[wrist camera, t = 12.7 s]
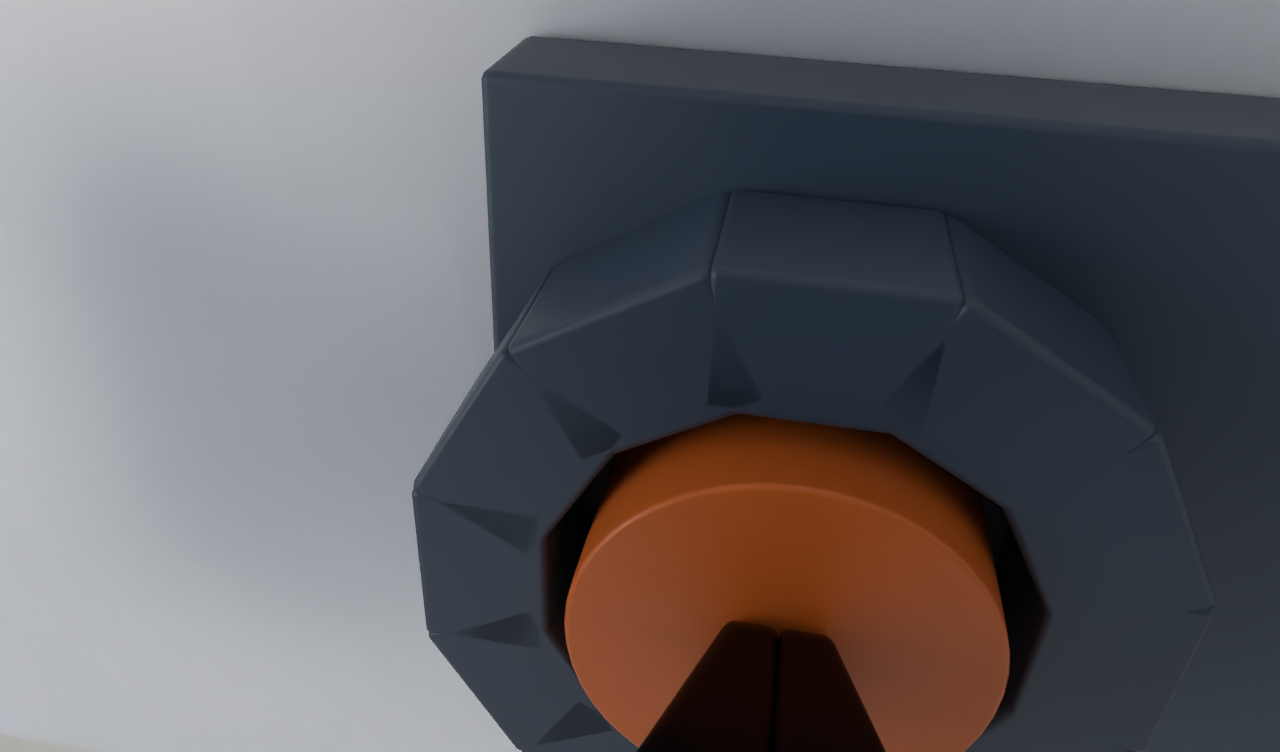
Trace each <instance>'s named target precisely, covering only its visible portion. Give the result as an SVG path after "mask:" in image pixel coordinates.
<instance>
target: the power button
mask: <svg viewBox="0 0 1280 752" xmlns="http://www.w3.org/2000/svg"><path fill="white" fill-rule="evenodd" d="M732 620H735V621H742V622H748V623H754V624H760V625H767V626H771V627H773V628H774V629H775V630H776V632H777V635H778V636H779V634H780V633H781V631H783V630H785V629H792V630H798V631H804V632H810V633H816V634H823V635H826V636H828V637H829V638H830V639H832V641H833V642H834V644H835V646H836V648H837V650H838V652H839V654H840V656H841V658H842V660H843V662H844V664H845V666H846V668H847V671H848V673H849V675H850V677H851V679H852V681H853V683H854V685H855V687H856V690H857V692H858V694H859V696H860V698H861V700H862V702H863V704H864V706H865V708H866V711H867V713H868V715H869V717H870V719H871V721H872V723H873V725H874V727H875V729H876V732H877V734H878V736H879V738H880V740H881V742H882V744H883V746H884V748H885V750H886V752H965V751H966V750H967V749H968V748H969V747H970V746H971V745H972V744H973V743H974V742H975V741H976V740H977V739H978V738H979V737H980V736H981V735H982V733H983V732H984V730H985V729H986V727H987V726H988V725H989V723H990V722H991V720H992V719H993V717H994V715H995V713H996V711H997V709H998V707H999V705H1000V703H1001V700H1002V698H1003V696H1004V693H1005V689H1006V685H1007V681H1008V677H1009V667H1010V648H1009V641H1008V634H1007V628H1006V623H1005V617H1004V612H1003V607H1002V602H1001V596H1000V591H999V586H998V581H997V575H996V570H995V565H994V560H993V554H992V549H991V544H990V539H989V534H988V528H987V523H986V518H985V513H984V507H983V502H982V497H981V494H980V492H978V491H977V490H975V489H974V488H972V487H971V486H969V485H968V484H966V483H965V482H963V481H962V480H960V479H959V478H957V477H956V476H954V475H953V474H951V473H949V472H948V471H946V470H945V469H943V468H942V467H940V466H939V465H937V464H936V463H934V462H933V461H931V460H930V459H928V458H927V457H925V456H924V455H922V454H921V453H919V452H918V451H916V450H915V449H913V448H912V447H910V446H909V445H907V444H906V443H904V442H903V441H901V440H900V439H898V438H897V437H895V436H894V435H892V434H889V433H881V432H873V431H866V430H858V429H851V428H843V427H836V426H828V425H820V424H813V423H805V422H798V421H790V420H783V419H775V418H767V417H760V416H752V415H745V414H734V415H731V416H728V417H725V418H722V419H719V420H716V421H713V422H710V423H707V424H704V425H701V426H698V427H695V428H692V429H689V430H686V431H683V432H680V433H677V434H674V435H671V436H667V437H664V438H661V439H658V440H655V441H652V442H649V443H646V444H643V445H640V446H637V447H634V448H631V449H628V450H625V451H622V452H619V453H617V454H616V456H615V459H614V461H613V463H612V465H611V468H610V471H609V474H608V477H607V480H606V483H605V486H604V489H603V492H602V495H601V497H600V500H599V503H598V506H597V509H596V512H595V515H594V518H593V521H592V524H591V527H590V530H589V533H588V536H587V539H586V542H585V545H584V548H583V550H582V553H581V556H580V559H579V562H578V565H577V568H576V571H575V574H574V577H573V580H572V583H571V586H570V590H569V594H568V597H567V601H566V608H565V620H564V625H565V636H566V644H567V648H568V652H569V656H570V659H571V663H572V666H573V668H574V671H575V673H576V675H577V678H578V680H579V682H580V684H581V686H582V687H583V689H584V691H585V692H586V694H587V695H588V697H589V699H590V700H591V702H592V703H593V704H594V705H595V707H596V708H597V709H598V710H599V712H600V713H601V714H602V715H603V716H604V718H605V719H606V720H607V721H608V722H609V723H610V724H611V725H612V726H613V727H614V728H615V729H617V730H618V731H619V732H620V733H621V734H622V735H623V736H624V737H626V738H627V739H628V740H629V741H631V742H632V743H633V744H635V745H636V746H637V747H638V748H639V747H640V745H641V744H642V743H643V741H644V740H645V738H646V737H647V735H648V734H649V732H650V731H651V730H652V728H653V727H654V725H655V724H656V722H657V721H658V719H659V718H660V717H661V715H662V714H663V712H664V711H665V709H666V708H667V707H668V705H669V704H670V702H671V701H672V699H673V698H674V696H675V695H676V694H677V692H678V691H679V689H680V688H681V686H682V685H683V683H684V682H685V681H686V679H687V678H688V676H689V675H690V673H691V672H692V670H693V669H694V668H695V666H696V665H697V663H698V662H699V660H700V659H701V657H702V656H703V655H704V653H705V652H706V650H707V649H708V647H709V646H710V644H711V643H712V642H713V640H714V639H715V637H716V636H717V634H718V633H719V631H720V630H721V629H722V627H723V626H724V625H725V624H726V623H727V622H729V621H732Z"/></svg>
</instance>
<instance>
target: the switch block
mask: <svg viewBox="0 0 1280 752" xmlns="http://www.w3.org/2000/svg"><path fill="white" fill-rule="evenodd" d="M482 98H483V119H484V140H485V161H486V182H487V204H488V225H489V246H490V267H491V288H492V309H493V331H494V352H495V353H494V354H493V356H492V357H491V359H490V360H489V362H488V363H487V365H486V366H485V368H484V369H483V371H482V372H481V374H480V375H479V377H478V379H477V380H476V382H475V383H474V385H473V386H472V388H471V389H470V391H469V392H468V394H467V396H466V397H465V399H464V401H463V402H462V404H461V406H460V407H459V409H458V410H457V412H456V414H455V415H454V417H453V419H452V420H451V422H450V423H449V425H448V427H447V428H446V430H445V432H444V433H443V435H442V436H441V438H440V440H439V441H438V443H437V445H436V446H435V448H434V450H433V451H432V453H431V454H430V456H429V458H428V459H427V461H426V463H425V464H424V466H423V467H422V469H421V471H420V472H419V474H418V476H417V477H416V479H415V481H414V489H413V491H412V497H413V506H414V516H415V525H416V534H417V543H418V552H419V561H420V570H421V579H422V589H423V598H424V607H425V616H426V625H427V629H428V631H429V637H430V639H431V640H432V641H433V642H434V644H435V645H436V646H437V648H438V649H439V650H440V651H441V653H442V654H443V655H444V656H445V658H446V659H447V660H448V661H449V663H450V664H451V665H452V667H453V668H454V669H455V670H456V672H457V673H458V674H459V675H460V677H461V678H462V679H463V681H464V682H465V683H466V684H467V686H468V687H469V688H470V689H471V691H472V692H473V693H474V694H475V696H476V697H477V698H478V700H479V701H480V702H481V703H482V705H483V706H484V707H485V708H486V710H487V711H488V712H489V714H490V715H491V716H492V717H493V719H494V720H495V721H496V722H497V724H498V725H499V726H500V728H501V729H502V730H503V731H504V733H505V734H506V735H507V736H508V738H509V739H510V740H511V741H512V743H513V744H514V745H515V747H516V748H517V749H519V750H522V752H636V751H637V750H638V747H637V746H636V745H635V744H633V743H632V742H631V741H629V740H628V739H627V738H626V737H624V736H623V735H622V734H621V733H620V732H619V731H618V730H617V729H615V728H614V727H613V726H612V725H611V724H610V723H609V722H608V721H607V720H606V719H605V718H604V716H603V715H602V714H601V713H600V712H599V710H598V709H597V708H596V707H595V705H594V704H593V703H592V702H591V700H590V699H589V697H588V695H587V694H586V692H585V691H584V689H583V687H582V686H581V684H580V682H579V680H578V678H577V675H576V673H575V671H574V668H573V666H572V663H571V659H570V656H569V652H568V648H567V644H566V636H565V625H564V620H565V608H566V601H567V597H568V594H569V590H570V586H571V583H572V580H573V577H574V574H575V571H576V568H577V565H578V562H579V559H580V556H581V553H582V550H583V548H584V545H585V542H586V539H587V536H588V533H589V530H590V527H591V524H592V521H593V518H594V515H595V512H596V509H597V506H598V503H599V500H600V497H601V495H602V492H603V489H604V486H605V483H606V480H607V477H608V474H609V471H610V468H611V465H612V463H613V461H614V459H615V456H616V454H617V453H619V452H622V451H625V450H628V449H631V448H634V447H637V446H640V445H643V444H646V443H649V442H652V441H655V440H658V439H661V438H664V437H667V436H671V435H674V434H677V433H680V432H683V431H686V430H689V429H692V428H695V427H698V426H701V425H704V424H707V423H710V422H713V421H716V420H719V419H722V418H725V417H728V416H731V415H734V414H745V415H752V416H760V417H767V418H775V419H783V420H790V421H798V422H805V423H813V424H820V425H828V426H836V427H843V428H851V429H858V430H866V431H873V432H881V433H889V434H892V435H894V436H895V437H897V438H898V439H900V440H901V441H903V442H904V443H906V444H907V445H909V446H910V447H912V448H913V449H915V450H916V451H918V452H919V453H921V454H922V455H924V456H925V457H927V458H928V459H930V460H931V461H933V462H934V463H936V464H937V465H939V466H940V467H942V468H943V469H945V470H946V471H948V472H949V473H951V474H953V475H954V476H956V477H957V478H959V479H960V480H962V481H963V482H965V483H966V484H968V485H969V486H971V487H972V488H974V489H975V490H977V491H978V492H980V494H981V497H982V502H983V507H984V513H985V518H986V523H987V528H988V534H989V539H990V544H991V549H992V554H993V560H994V565H995V570H996V575H997V581H998V586H999V591H1000V596H1001V602H1002V607H1003V612H1004V617H1005V623H1006V628H1007V634H1008V641H1009V648H1010V667H1009V677H1008V681H1007V685H1006V689H1005V693H1004V696H1003V698H1002V700H1001V703H1000V705H999V707H998V709H997V711H996V713H995V715H994V717H993V719H992V720H991V722H990V723H989V725H988V726H987V727H986V729H985V730H984V732H983V733H982V735H981V736H980V737H979V738H978V739H977V740H976V741H975V742H974V743H973V744H972V745H971V746H970V747H969V748H968V749H967V750H966V751H965V752H1280V99H1278V98H1266V97H1254V96H1242V95H1230V94H1218V93H1206V92H1194V91H1182V90H1170V89H1158V88H1146V87H1134V86H1122V85H1110V84H1098V83H1086V82H1074V81H1062V80H1050V79H1038V78H1026V77H1014V76H1002V75H990V74H978V73H966V72H954V71H943V70H931V69H919V68H907V67H895V66H883V65H871V64H859V63H847V62H835V61H823V60H811V59H799V58H787V57H775V56H763V55H751V54H739V53H727V52H715V51H703V50H691V49H679V48H667V47H655V46H643V45H631V44H619V43H608V42H596V41H584V40H572V39H560V38H548V37H536V36H531V37H528V38H525V39H524V40H523V41H522V42H521V43H519V44H518V45H517V46H516V47H514V48H513V49H512V50H511V51H509V52H508V53H507V54H506V55H505V56H503V57H502V58H501V59H500V60H498V61H497V62H496V63H495V64H493V65H492V66H491V67H490V68H489V69H487V70H486V71H485V72H484V74H483V76H482Z"/></svg>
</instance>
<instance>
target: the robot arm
mask: <svg viewBox="0 0 1280 752" xmlns="http://www.w3.org/2000/svg"><path fill="white" fill-rule="evenodd" d="M636 752H886V750H885V748H884V746H883V744H882V742H881V740H880V738H879V736H878V734H877V732H876V729H875V727H874V725H873V723H872V721H871V719H870V717H869V715H868V713H867V711H866V708H865V706H864V704H863V702H862V700H861V698H860V696H859V694H858V692H857V690H856V687H855V685H854V683H853V681H852V679H851V677H850V675H849V673H848V671H847V668H846V666H845V664H844V662H843V660H842V658H841V656H840V654H839V652H838V650H837V648H836V646H835V644H834V642H833V641H832V639H830V638H829V637H828V636H826V635H823V634H816V633H810V632H804V631H798V630H792V629H785V630H783V631H781V633H780V634H779V636H778V635H777V632H776V630H775V629H774V628H773V627H771V626H767V625H760V624H754V623H748V622H742V621H735V620H732V621H729V622H727V623H726V624H725V625H724V626H723V627H722V629H721V630H720V631H719V633H718V634H717V636H716V637H715V639H714V640H713V642H712V643H711V644H710V646H709V647H708V649H707V650H706V652H705V653H704V655H703V656H702V657H701V659H700V660H699V662H698V663H697V665H696V666H695V668H694V669H693V670H692V672H691V673H690V675H689V676H688V678H687V679H686V681H685V682H684V683H683V685H682V686H681V688H680V689H679V691H678V692H677V694H676V695H675V696H674V698H673V699H672V701H671V702H670V704H669V705H668V707H667V708H666V709H665V711H664V712H663V714H662V715H661V717H660V718H659V719H658V721H657V722H656V724H655V725H654V727H653V728H652V730H651V731H650V732H649V734H648V735H647V737H646V738H645V740H644V741H643V743H642V744H641V745H640V747H639V748H638V750H637V751H636Z"/></svg>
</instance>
